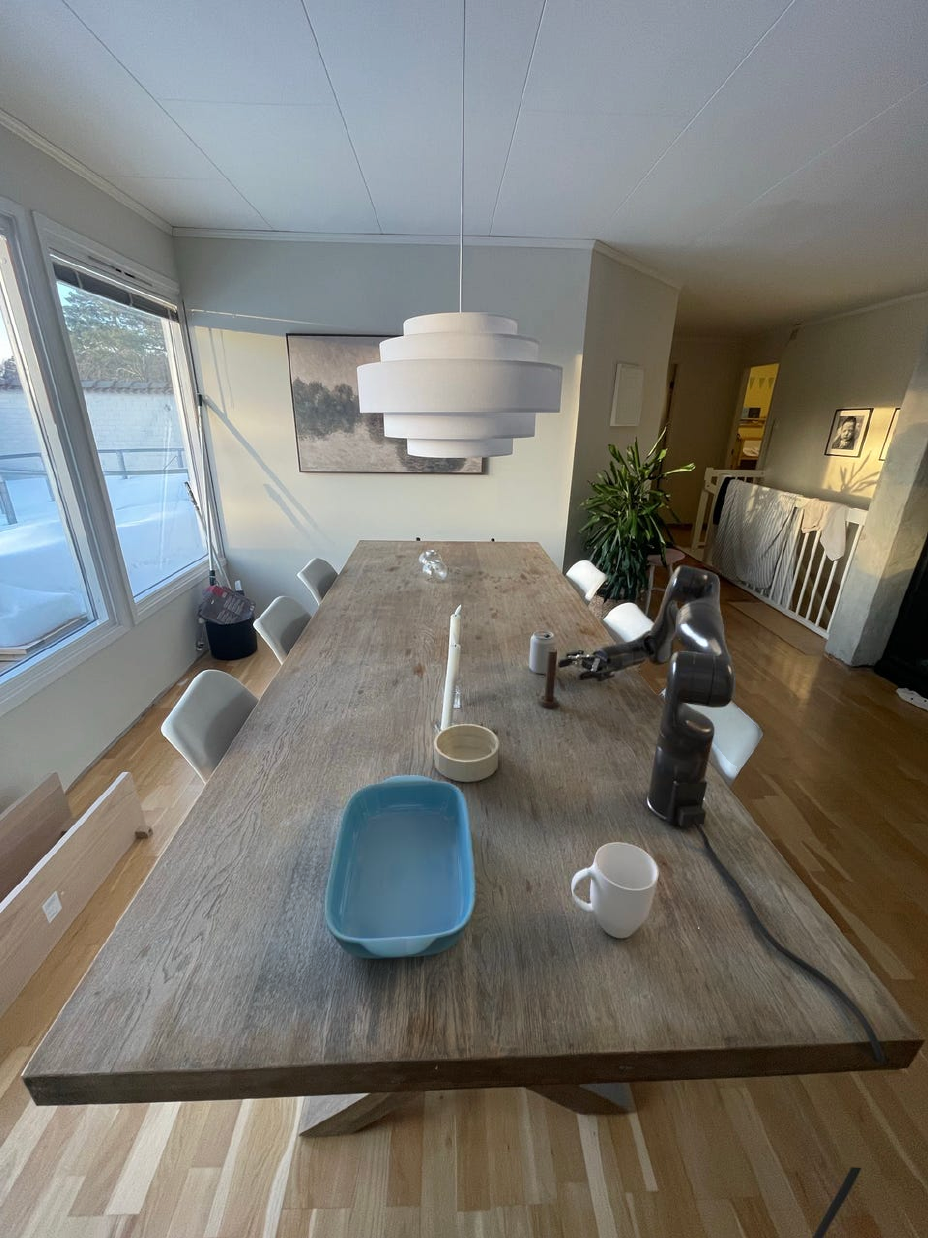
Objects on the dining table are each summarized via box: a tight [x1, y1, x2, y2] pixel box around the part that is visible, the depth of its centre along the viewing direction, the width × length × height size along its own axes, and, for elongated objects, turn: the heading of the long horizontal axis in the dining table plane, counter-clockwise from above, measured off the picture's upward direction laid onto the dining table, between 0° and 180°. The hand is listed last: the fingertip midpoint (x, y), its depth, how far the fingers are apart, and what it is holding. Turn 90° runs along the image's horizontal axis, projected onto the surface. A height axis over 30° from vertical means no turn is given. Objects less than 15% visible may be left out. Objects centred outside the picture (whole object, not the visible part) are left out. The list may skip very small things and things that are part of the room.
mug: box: [570, 841, 660, 939], centre depth 76 cm, size 12×9×12 cm
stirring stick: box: [539, 648, 558, 709], centre depth 136 cm, size 4×4×16 cm
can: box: [528, 630, 557, 675], centre depth 155 cm, size 8×8×12 cm
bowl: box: [433, 723, 500, 783], centre depth 114 cm, size 14×14×6 cm
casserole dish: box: [323, 774, 476, 959], centre depth 84 cm, size 37×22×7 cm, turn 4°
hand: (568, 670), depth 138 cm, fingers open, 8 cm apart
